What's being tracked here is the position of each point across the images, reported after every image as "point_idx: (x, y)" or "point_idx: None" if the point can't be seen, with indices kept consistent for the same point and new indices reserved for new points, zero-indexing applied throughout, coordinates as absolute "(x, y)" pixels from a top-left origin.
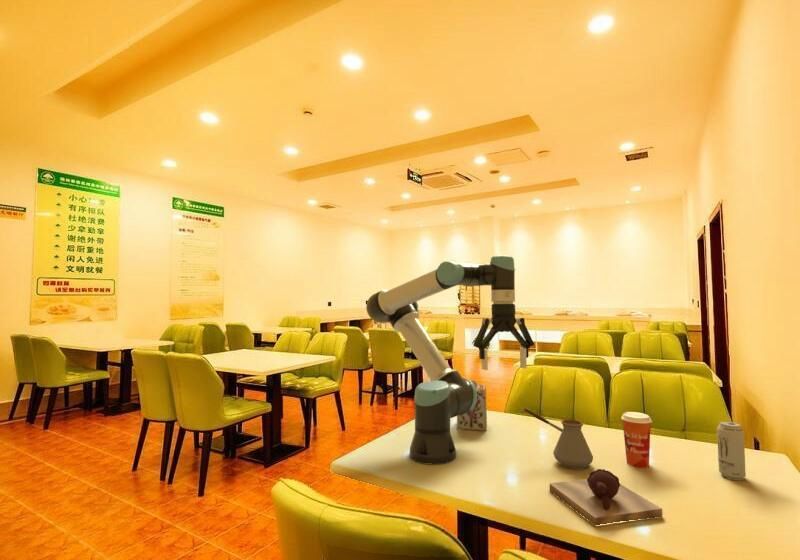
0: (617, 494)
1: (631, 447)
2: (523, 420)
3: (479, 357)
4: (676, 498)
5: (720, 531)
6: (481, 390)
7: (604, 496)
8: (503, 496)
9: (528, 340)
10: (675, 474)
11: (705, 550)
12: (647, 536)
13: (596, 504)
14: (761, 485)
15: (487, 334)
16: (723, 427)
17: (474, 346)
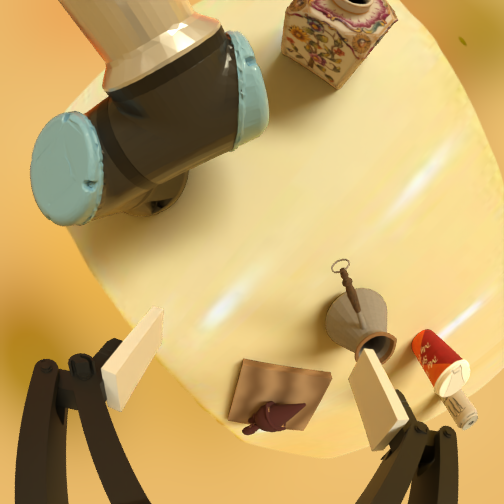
0: None
1: (421, 359)
2: (444, 90)
3: (108, 341)
4: (356, 409)
5: (319, 442)
6: (361, 38)
7: (255, 422)
8: (176, 342)
9: (414, 476)
10: (419, 373)
11: (280, 449)
12: (258, 432)
13: (251, 410)
14: (440, 403)
15: (97, 471)
16: (462, 423)
17: (48, 361)
